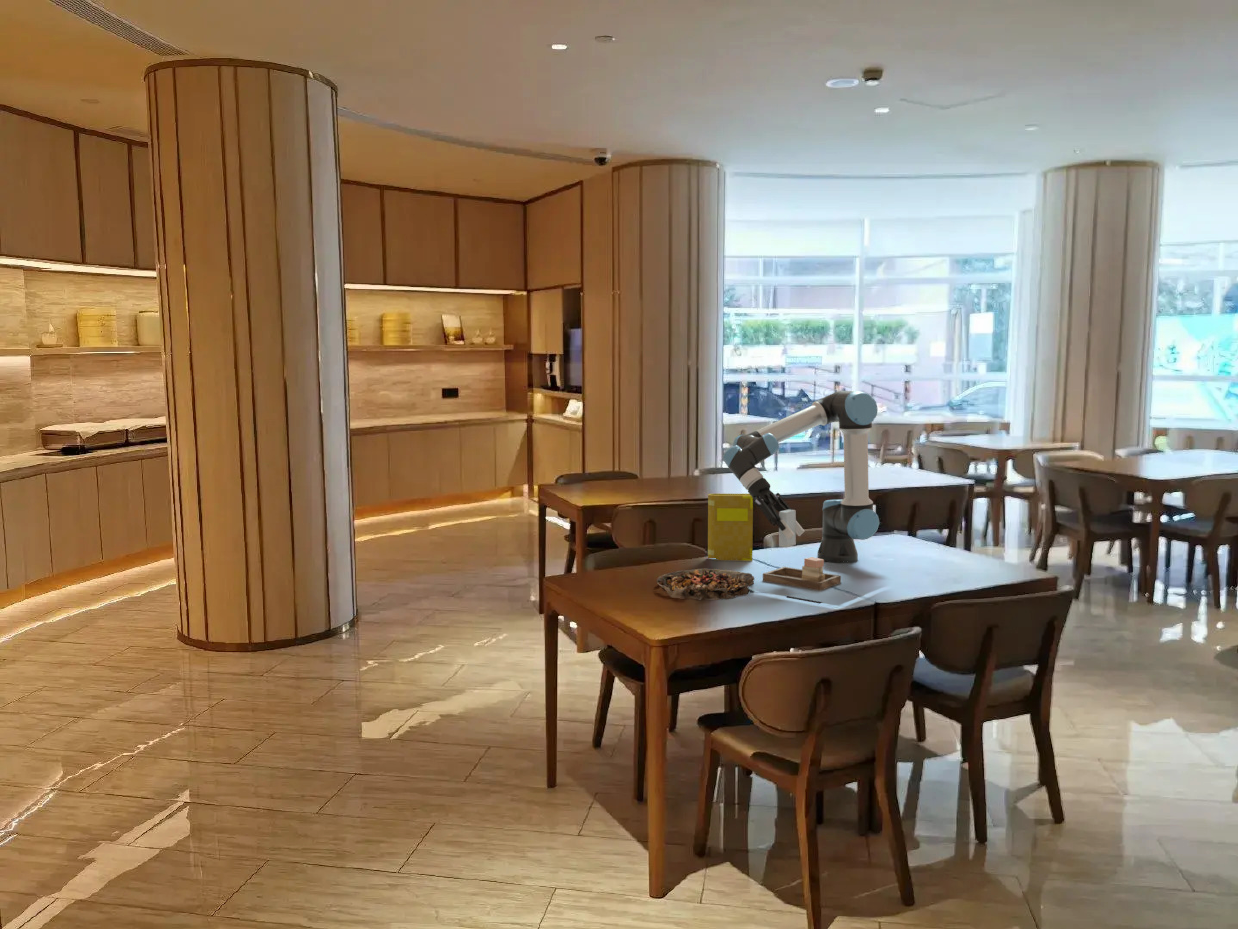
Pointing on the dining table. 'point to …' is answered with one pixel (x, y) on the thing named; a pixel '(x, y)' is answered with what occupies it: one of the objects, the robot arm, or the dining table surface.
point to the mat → (804, 599)
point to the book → (730, 526)
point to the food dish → (706, 584)
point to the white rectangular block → (790, 520)
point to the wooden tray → (799, 578)
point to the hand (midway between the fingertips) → (796, 535)
